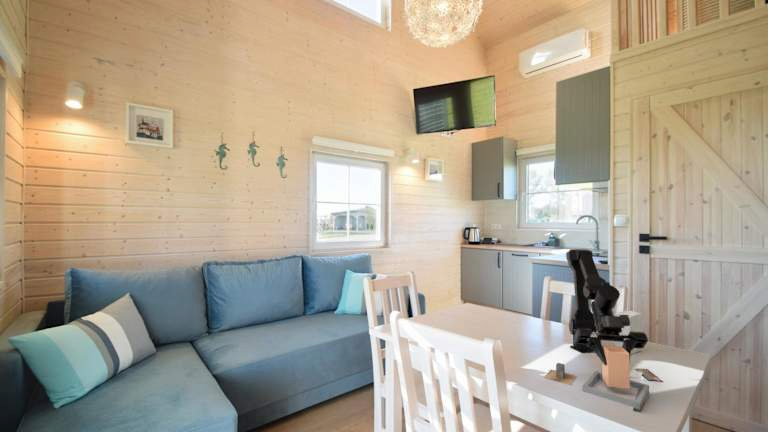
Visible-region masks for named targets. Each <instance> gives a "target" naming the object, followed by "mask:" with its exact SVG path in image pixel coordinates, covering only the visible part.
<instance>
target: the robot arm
mask: <svg viewBox="0 0 768 432" xmlns="http://www.w3.org/2000/svg"><path fill="white" fill-rule="evenodd" d="M593 256H594V253H593V251H592V250H590V249H581V248H580V249H577V248H576V249H574V248H573V249H571V248H570V249H569V251H567V252H566V257H565V259H566V261H567V263H568V266H569V268H570V269H571V271H573V272H572V273H573V286H574V300H575V301H574V302H575V309H574V311H573V312H572V313H571V318H570V322H569V325H568V330H569V333H570V335H572V345H569V348H571V349H573V350H575V351H578V352H579V353H581V354H585V353H595V354H596V355H597V357H598V359H600V361H601V363H602V362H603V363H604V365H607V361H606V357H605V354H604V351H603V348H602V341H607V342H615V341H618V342H622V344H623V346H622V347H623V348H624V349H625V350H626V351H627V352H628V353H629V366H631V365H630V364H631V355H632V354H631V350H633V348H640V349H641V348H642V349H643V348H645V346H646V344H647V343H648V341H649V337H648V335H647V334H646V333H645V332H644V331H642V332H635V331H630V333H629V334H628V335H619V333H621V332H622V329H621V328H624V326H630V320H629V317H628V315H620V316H619V317H618V316H615V313H614V311H613V309H615V307H616V305H617V303H618V300H619V298H620V297H621V292H620V291H619V290H618V289H617V288H616V287H615V286H614V285H611V284H610V282H607V281H606V279H604V278H603V277H601V275H600V274H599V271H598V268H597V266H596V263H595V261H594V260H595V259H594V257H593ZM589 300H590V301H591V303H590V302H589ZM589 303H590V305H589ZM589 306H590V307H589Z"/></svg>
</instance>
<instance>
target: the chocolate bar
mask: <svg viewBox="0 0 768 432" xmlns="http://www.w3.org/2000/svg"><path fill="white" fill-rule="evenodd" d="M633 370H635V371H636V372H638V373H642V374H641V376H642V377H643V378H644V379H645V380H647V381H648V382H659V383H664V380H662V379H661V378H659V376H657V375H655V374H654V373H653V372H652V371H651V370H649V369H648V368H637V367H636V368H633Z"/></svg>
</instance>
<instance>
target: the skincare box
mask: <svg viewBox="0 0 768 432" xmlns="http://www.w3.org/2000/svg"><path fill="white" fill-rule="evenodd" d="M620 315H628V317H629V320H630V326H624V328H621V329H622V332H621V333H619V335H628V334H629V333H630V331H635V332H643V321H642V320H643V314H642V313H641V312H638V311H633V310H630V309H626V310H621V311H617V312H615V313H614V316H618V317H619V316H620ZM614 346H617V347H622V346H623V344H622V342H618V341H614ZM641 351H643V348H641V349H640V348H633V350H631V354H630V355H632V354H636V353H639V352H641Z"/></svg>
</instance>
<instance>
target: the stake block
mask: <svg viewBox="0 0 768 432" xmlns="http://www.w3.org/2000/svg"><path fill="white" fill-rule="evenodd" d="M565 367H566V366H565V364H564V363H559V362H557V363H556V364H555V370H554V369H549V371H548V372H547V373H546V375H545V376H544V377H543V378H544V379H545V380H546V379H547V380H550V381H553V382H557V383H562V384H565V385H569V386H572V384H573V383H574V382H575V380H576V379H577V376H578V375H576V374H575V375H574V374H572V373H571V374H570V373H566V372H565V370H566V369H565Z"/></svg>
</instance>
